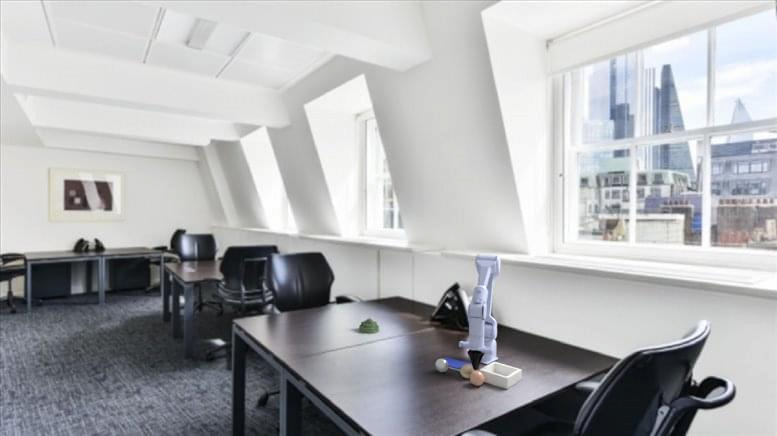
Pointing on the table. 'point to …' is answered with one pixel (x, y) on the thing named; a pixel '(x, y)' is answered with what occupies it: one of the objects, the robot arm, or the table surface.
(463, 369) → the light oak ball
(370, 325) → the decorative artifact
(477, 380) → the terracotta ball
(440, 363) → the steel ball
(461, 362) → the hard drive
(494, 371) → the off-white bin
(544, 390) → the table surface
